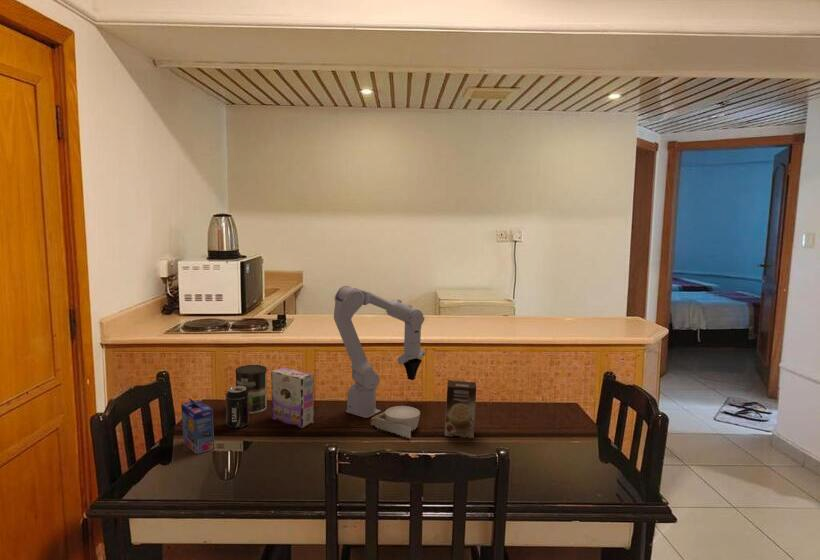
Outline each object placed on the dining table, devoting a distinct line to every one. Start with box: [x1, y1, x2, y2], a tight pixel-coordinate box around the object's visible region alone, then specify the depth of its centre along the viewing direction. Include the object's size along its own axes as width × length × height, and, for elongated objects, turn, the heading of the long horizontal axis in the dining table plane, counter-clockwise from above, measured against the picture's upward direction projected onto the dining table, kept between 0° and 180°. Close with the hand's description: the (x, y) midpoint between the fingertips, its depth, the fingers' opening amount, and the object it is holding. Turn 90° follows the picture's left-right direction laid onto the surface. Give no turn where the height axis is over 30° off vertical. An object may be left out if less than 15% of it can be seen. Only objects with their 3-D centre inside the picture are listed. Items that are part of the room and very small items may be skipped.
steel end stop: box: [375, 417, 412, 439], centre depth 164 cm, size 13×1×4 cm, turn 56°
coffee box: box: [444, 379, 477, 439], centre depth 165 cm, size 9×6×16 cm
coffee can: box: [235, 364, 268, 415], centre depth 181 cm, size 10×10×14 cm
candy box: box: [270, 367, 315, 429], centre depth 171 cm, size 14×6×16 cm, turn 58°
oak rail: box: [370, 410, 386, 426], centre depth 175 cm, size 2×14×2 cm, turn 146°
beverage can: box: [225, 385, 250, 429], centre depth 167 cm, size 7×7×12 cm
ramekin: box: [385, 405, 421, 432], centre depth 169 cm, size 11×11×5 cm
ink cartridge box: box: [180, 397, 215, 455], centre depth 151 cm, size 10×6×14 cm, turn 44°
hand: (411, 379), depth 188 cm, fingers closed
